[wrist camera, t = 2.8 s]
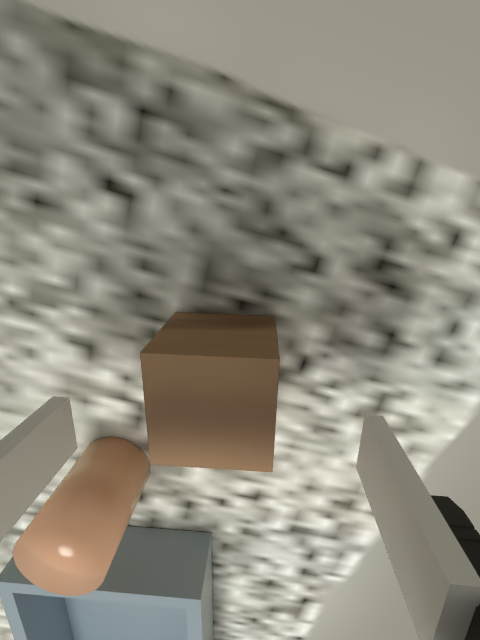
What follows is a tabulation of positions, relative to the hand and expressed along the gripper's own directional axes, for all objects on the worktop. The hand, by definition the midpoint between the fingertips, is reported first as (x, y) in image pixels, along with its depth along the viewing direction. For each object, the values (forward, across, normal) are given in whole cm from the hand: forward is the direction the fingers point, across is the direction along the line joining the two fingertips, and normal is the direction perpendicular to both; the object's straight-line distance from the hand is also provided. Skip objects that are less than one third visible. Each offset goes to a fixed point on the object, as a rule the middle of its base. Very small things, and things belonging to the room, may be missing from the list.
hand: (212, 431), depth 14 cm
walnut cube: (+7, 0, +1) cm, 7 cm away
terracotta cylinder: (+7, -8, -8) cm, 13 cm away
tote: (+7, -8, -23) cm, 26 cm away
